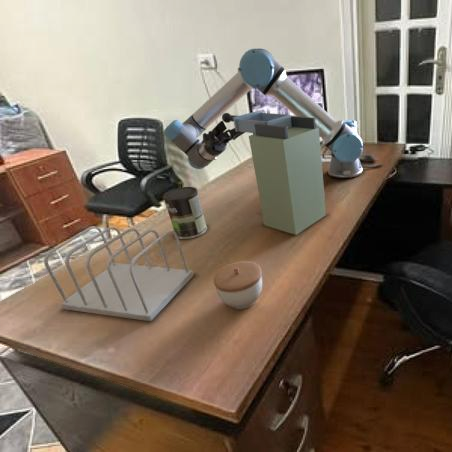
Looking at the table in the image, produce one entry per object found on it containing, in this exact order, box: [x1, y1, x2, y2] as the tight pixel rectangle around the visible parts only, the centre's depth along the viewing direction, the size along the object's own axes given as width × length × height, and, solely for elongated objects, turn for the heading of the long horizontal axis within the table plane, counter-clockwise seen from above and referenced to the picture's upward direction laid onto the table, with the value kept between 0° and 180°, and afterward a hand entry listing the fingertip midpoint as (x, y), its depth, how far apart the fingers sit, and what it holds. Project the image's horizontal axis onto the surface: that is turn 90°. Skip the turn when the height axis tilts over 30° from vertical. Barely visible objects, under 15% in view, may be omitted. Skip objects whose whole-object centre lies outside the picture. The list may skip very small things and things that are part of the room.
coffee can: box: [162, 186, 208, 240], centre depth 114 cm, size 10×10×14 cm
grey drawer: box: [221, 109, 292, 134], centre depth 112 cm, size 26×12×4 cm, turn 54°
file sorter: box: [43, 225, 194, 322], centre depth 86 cm, size 25×17×16 cm
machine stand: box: [248, 115, 327, 236], centre depth 112 cm, size 14×16×33 cm
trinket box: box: [213, 260, 263, 310], centre depth 81 cm, size 11×11×9 cm
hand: (240, 120), depth 115 cm, fingers open, 13 cm apart
